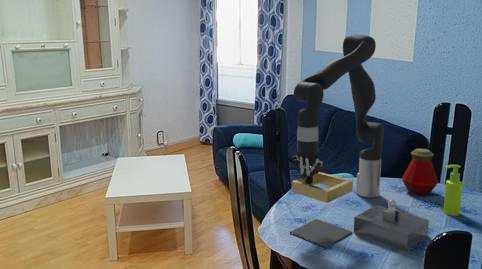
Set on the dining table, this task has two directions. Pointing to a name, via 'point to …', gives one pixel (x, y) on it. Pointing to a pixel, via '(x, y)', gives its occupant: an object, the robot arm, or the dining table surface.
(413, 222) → the translucent grey knobbed box
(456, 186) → the soap dispenser
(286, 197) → the dining table surface
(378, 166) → the robot arm
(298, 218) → the dining table surface
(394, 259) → the dining table surface
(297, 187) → the wooden tray
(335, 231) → the black mat
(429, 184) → the bottle
